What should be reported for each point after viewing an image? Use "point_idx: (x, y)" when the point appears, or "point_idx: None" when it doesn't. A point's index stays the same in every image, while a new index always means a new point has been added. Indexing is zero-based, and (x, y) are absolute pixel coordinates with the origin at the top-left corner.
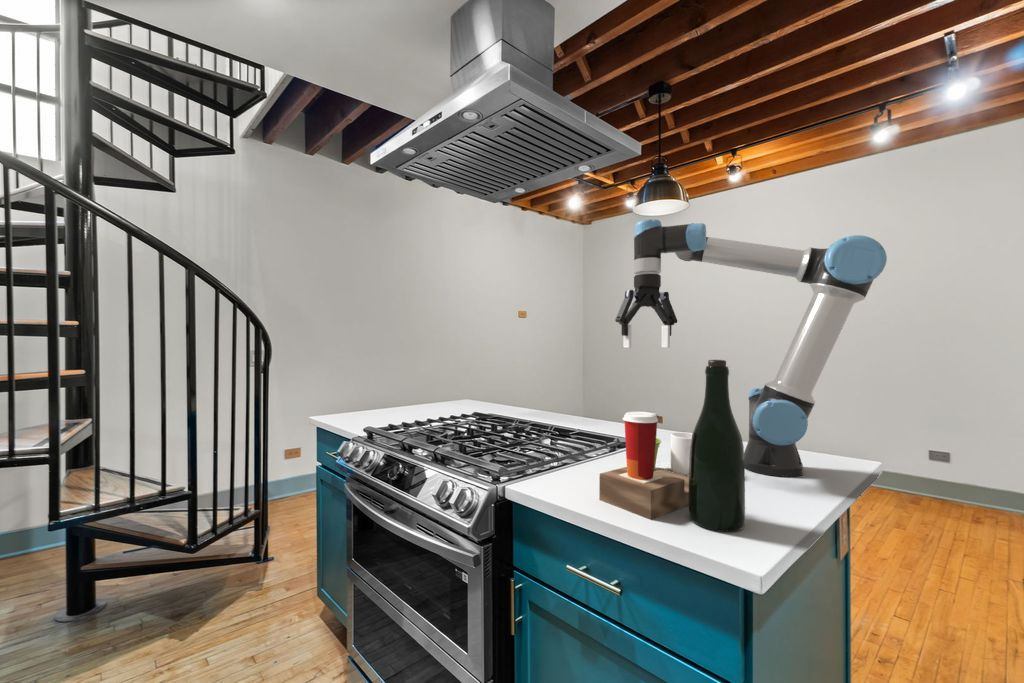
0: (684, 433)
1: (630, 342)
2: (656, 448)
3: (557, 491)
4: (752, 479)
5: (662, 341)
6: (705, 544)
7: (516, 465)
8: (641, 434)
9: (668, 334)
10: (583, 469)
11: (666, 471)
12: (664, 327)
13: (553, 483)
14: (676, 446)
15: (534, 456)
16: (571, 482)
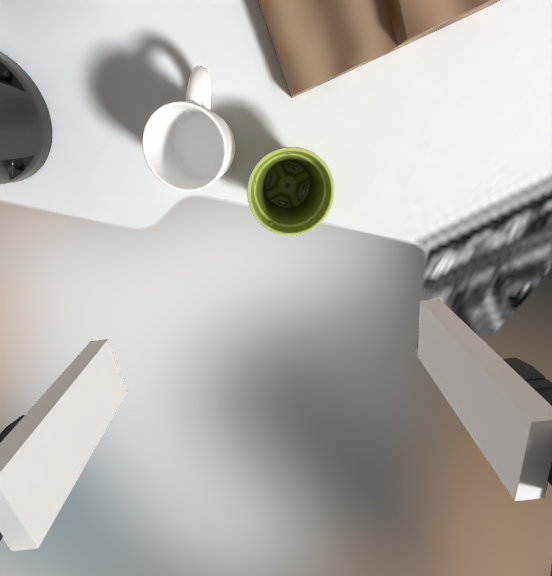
0: (171, 184)
1: (444, 315)
2: (273, 157)
3: (541, 82)
4: (81, 52)
5: (107, 410)
6: None
7: (520, 269)
8: None
9: (48, 403)
10: (409, 214)
11: (295, 72)
12: (33, 495)
13: (518, 136)
14: (227, 135)
15: None
16: (481, 134)
